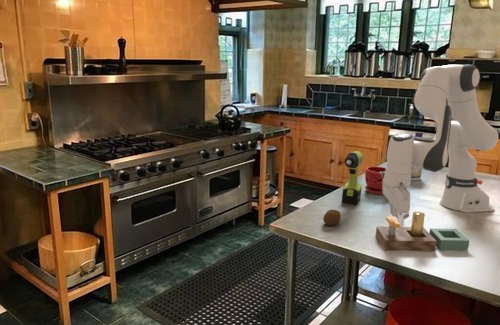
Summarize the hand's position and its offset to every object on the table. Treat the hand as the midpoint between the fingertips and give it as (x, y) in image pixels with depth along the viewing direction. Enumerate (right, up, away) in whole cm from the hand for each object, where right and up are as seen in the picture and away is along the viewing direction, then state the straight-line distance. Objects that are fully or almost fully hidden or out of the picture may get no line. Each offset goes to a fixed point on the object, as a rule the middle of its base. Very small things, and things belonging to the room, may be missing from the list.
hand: (393, 214), depth 149 cm
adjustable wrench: (+10, -6, +23) cm, 26 cm away
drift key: (0, -8, +2) cm, 8 cm away
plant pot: (+13, +4, +60) cm, 61 cm away
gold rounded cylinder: (+9, -11, +3) cm, 15 cm away
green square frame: (+21, -11, +2) cm, 24 cm away
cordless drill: (-6, 0, +43) cm, 43 cm away
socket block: (+5, -11, +3) cm, 12 cm away
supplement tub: (+38, +10, +83) cm, 92 cm away
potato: (-18, -7, +20) cm, 28 cm away
